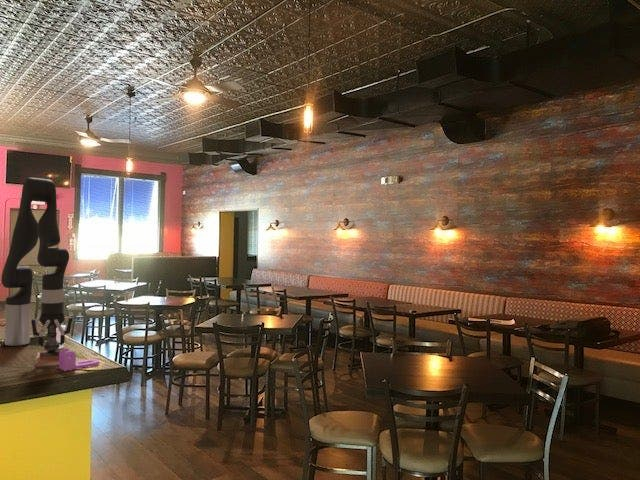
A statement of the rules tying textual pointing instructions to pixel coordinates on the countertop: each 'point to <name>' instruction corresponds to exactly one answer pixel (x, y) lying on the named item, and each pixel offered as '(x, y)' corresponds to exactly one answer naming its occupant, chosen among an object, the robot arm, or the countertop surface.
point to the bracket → (73, 361)
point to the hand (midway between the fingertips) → (51, 345)
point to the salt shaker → (51, 342)
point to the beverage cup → (59, 335)
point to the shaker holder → (46, 359)
